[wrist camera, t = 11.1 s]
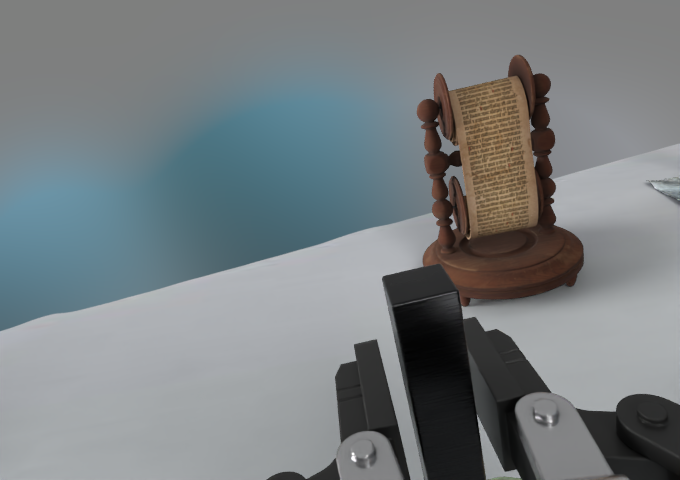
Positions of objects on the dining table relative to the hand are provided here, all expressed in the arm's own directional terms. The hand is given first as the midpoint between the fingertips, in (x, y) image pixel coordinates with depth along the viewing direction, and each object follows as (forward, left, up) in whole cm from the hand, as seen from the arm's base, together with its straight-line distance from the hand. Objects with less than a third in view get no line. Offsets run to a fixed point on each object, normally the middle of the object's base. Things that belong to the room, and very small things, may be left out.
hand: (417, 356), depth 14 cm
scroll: (+28, +14, -15) cm, 35 cm away
